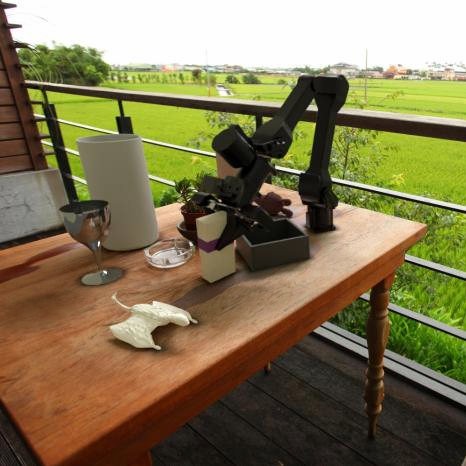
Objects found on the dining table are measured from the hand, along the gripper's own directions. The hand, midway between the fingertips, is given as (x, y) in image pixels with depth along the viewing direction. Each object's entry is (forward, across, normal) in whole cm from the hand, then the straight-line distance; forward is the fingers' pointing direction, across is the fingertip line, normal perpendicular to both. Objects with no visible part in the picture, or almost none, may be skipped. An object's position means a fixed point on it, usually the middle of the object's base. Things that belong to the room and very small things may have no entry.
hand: (210, 247), depth 76 cm
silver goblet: (+14, -20, -4) cm, 24 cm away
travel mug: (-20, -33, +29) cm, 48 cm away
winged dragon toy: (+17, +4, -6) cm, 18 cm away
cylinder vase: (+4, -32, +6) cm, 33 cm away
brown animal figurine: (-21, -19, +30) cm, 41 cm away
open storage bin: (-6, +1, +16) cm, 17 cm away
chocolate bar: (+4, -1, +6) cm, 7 cm away
